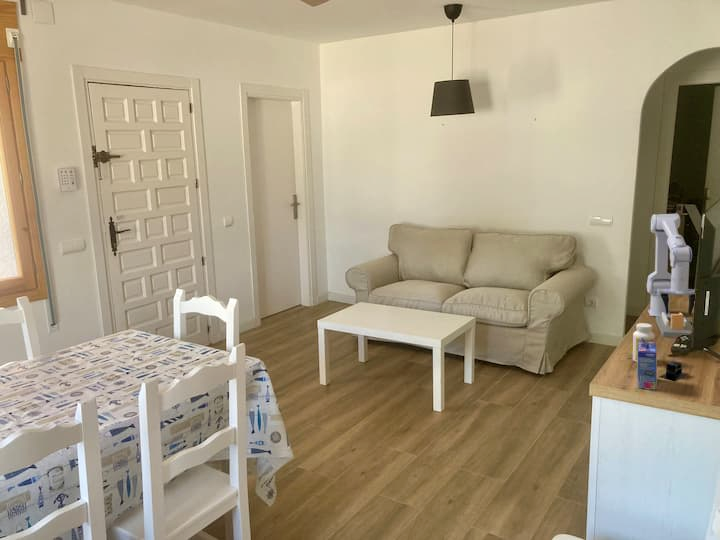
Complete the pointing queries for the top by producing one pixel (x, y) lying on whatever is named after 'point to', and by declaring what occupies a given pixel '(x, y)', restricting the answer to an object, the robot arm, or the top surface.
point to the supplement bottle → (642, 336)
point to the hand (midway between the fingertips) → (678, 313)
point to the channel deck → (667, 331)
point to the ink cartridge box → (647, 365)
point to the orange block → (677, 321)
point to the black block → (674, 371)
